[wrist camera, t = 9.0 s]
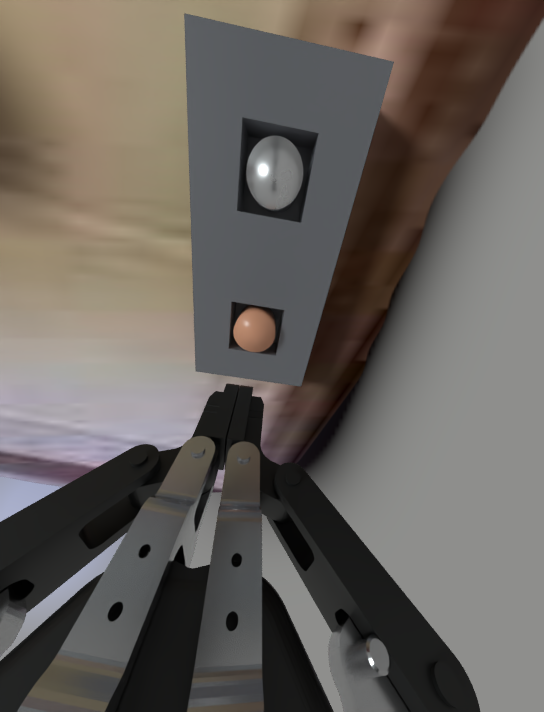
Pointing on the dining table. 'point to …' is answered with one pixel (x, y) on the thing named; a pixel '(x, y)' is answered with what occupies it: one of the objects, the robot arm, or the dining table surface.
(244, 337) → the terracotta button
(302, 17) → the dining table surface
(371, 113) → the button panel
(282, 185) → the steel button
